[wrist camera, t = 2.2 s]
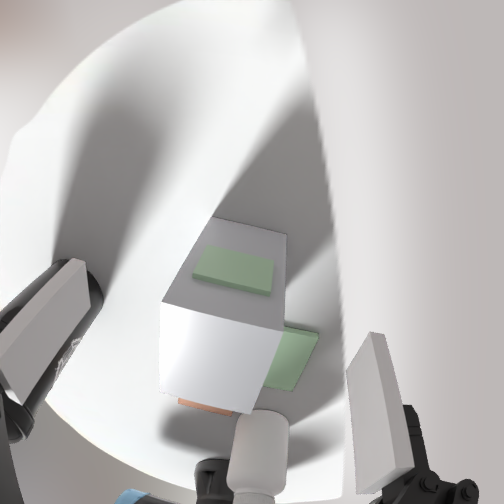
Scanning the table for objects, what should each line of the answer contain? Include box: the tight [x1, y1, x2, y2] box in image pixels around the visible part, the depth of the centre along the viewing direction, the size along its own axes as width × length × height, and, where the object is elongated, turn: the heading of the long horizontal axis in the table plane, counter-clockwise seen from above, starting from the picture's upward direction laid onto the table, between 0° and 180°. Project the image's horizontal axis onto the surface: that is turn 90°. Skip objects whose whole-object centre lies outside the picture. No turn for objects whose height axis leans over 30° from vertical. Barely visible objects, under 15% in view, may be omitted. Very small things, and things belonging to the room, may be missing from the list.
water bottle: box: [0, 260, 103, 444], centre depth 25 cm, size 10×10×23 cm
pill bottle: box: [226, 410, 289, 504], centre depth 36 cm, size 8×8×15 cm
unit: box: [160, 217, 287, 415], centre depth 25 cm, size 10×7×13 cm
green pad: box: [263, 326, 319, 391], centre depth 36 cm, size 10×10×1 cm
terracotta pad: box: [178, 398, 233, 416], centre depth 40 cm, size 8×8×1 cm
